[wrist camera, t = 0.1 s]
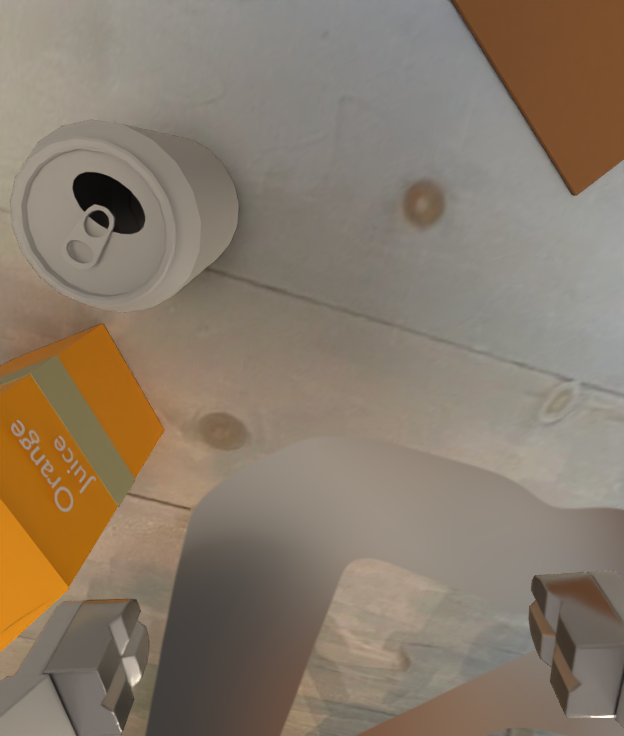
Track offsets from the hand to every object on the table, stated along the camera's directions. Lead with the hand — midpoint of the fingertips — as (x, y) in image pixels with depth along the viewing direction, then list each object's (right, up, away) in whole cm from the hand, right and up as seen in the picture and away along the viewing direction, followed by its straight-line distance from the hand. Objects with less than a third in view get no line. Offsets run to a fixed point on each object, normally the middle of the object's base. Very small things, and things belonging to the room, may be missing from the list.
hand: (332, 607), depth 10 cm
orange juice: (-16, +3, +24) cm, 29 cm away
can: (-8, +15, +19) cm, 26 cm away
